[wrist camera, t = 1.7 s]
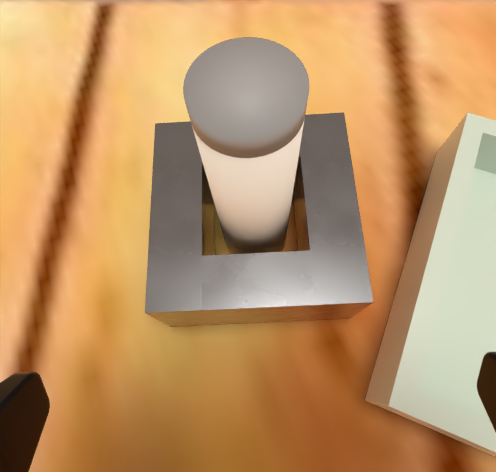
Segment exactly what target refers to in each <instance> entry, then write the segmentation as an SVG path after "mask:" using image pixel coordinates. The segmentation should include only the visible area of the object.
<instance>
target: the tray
mask: <svg viewBox="0 0 496 472" xmlns="http://www.w3.org/2000/svg"><path fill="white" fill-rule="evenodd" d="M488 352H496V121H495V120H492V119H488V118H485V117H481V116H478V115H474V114H471V113H467V114H466V115H465V117H464V118H463V119H462V121H461V122H460V123H459V125H458V126H457V127H456V128H455V130H454V131H453V132H452V134H451V135H450V136H449V137H448V139H447V140H446V141H445V143H444V144H443V145H442V147H441V148H440V149H439V150H438V152H437V153H436V157H435V160H434V164H433V167H432V170H431V174H430V177H429V181H428V184H427V188H426V191H425V195H424V198H423V201H422V205H421V208H420V212H419V215H418V219H417V222H416V225H415V229H414V232H413V236H412V239H411V243H410V246H409V250H408V253H407V256H406V260H405V263H404V267H403V270H402V274H401V277H400V280H399V284H398V287H397V291H396V294H395V298H394V301H393V305H392V308H391V311H390V315H389V318H388V322H387V325H386V329H385V332H384V336H383V339H382V342H381V346H380V349H379V353H378V356H377V360H376V363H375V366H374V370H373V373H372V377H371V380H370V384H369V387H368V391H367V394H366V397H365V401H368V402H370V403H372V404H374V405H377V406H379V407H381V408H384V409H386V410H388V411H391V412H393V413H395V414H398V415H400V416H402V417H404V418H407V419H409V420H411V421H414V422H416V423H418V424H421V425H423V426H425V427H427V428H430V429H432V430H434V431H437V432H439V433H441V434H444V435H446V436H448V437H451V438H453V439H455V440H457V441H460V442H462V443H464V444H467V445H469V446H471V447H474V448H476V449H478V450H480V451H483V452H485V453H487V454H490V455H492V456H494V457H496V432H495V430H494V428H493V426H492V423H491V421H490V419H489V417H488V415H487V412H486V410H485V408H484V406H483V404H482V401H481V399H480V397H479V394H478V391H477V379H478V376H479V372H480V368H481V364H482V360H483V357H484V355H485V354H486V353H488Z"/></svg>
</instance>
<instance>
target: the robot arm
mask: <svg viewBox="0 0 496 472" xmlns="http://www.w3.org/2000/svg"><path fill="white" fill-rule="evenodd" d="M477 391H478V394H479V397H480V399H481V401H482V404H483V406H484V408H485V410H486V412H487V415H488V417H489V419H490V421H491V423H492V426H493V428H494V430H495V432H496V352H488V353H486V354H485V355H484V357H483V360H482V364H481V368H480V372H479V376H478V379H477ZM49 408H50V403H49V398H48V395H47V393H46V390H45V387H44V385H43V382H42V379H41V377H40V375H39V374H38V373H37V372H18V373H15V374H13V375H11V376H10V377H8V378H7V379H5V380H4V381H2V382H1V383H0V472H28V471H29V468H30V466H31V463H32V460H33V457H34V454H35V451H36V448H37V445H38V442H39V439H40V436H41V434H42V431H43V428H44V425H45V422H46V419H47V416H48V413H49Z"/></svg>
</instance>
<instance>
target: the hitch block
mask: <svg viewBox="0 0 496 472" xmlns="http://www.w3.org/2000/svg"><path fill="white" fill-rule="evenodd" d="M292 200H293V201H294V212H295V223H296V234H297V246H298V251H288V252H268V253H248V254H228V255H215V246H214V200H213V197H212V193H211V190H210V187H209V183H208V180H207V176H206V173H205V169H204V166H203V162H202V159H201V155H200V152H199V148H198V145H197V141H196V138H195V134H194V131H193V127H192V124H191V122H175V123H157V124H155V139H154V157H153V176H152V194H151V213H150V231H149V249H148V268H147V286H146V305H145V313H146V314H148V315H150V316H152V317H154V318H156V319H158V320H159V321H161V322H163V323H165V324H167V325H169V326H171V327H175V326H197V325H219V324H241V323H262V322H284V321H306V320H328V319H349V318H351V317H352V316H354V315H355V314H357V313H358V312H360V311H361V310H363V309H364V308H365V307H367V306H368V305H370V304H371V303H373V296H372V290H371V283H370V277H369V270H368V264H367V258H366V251H365V245H364V238H363V232H362V225H361V219H360V213H359V206H358V200H357V193H356V187H355V180H354V174H353V168H352V161H351V155H350V148H349V142H348V135H347V129H346V123H345V116H344V113H329V114H312V115H305V119H304V125H303V131H302V138H301V144H300V151H299V157H298V163H297V170H296V176H295V182H294V189H293V195H292Z"/></svg>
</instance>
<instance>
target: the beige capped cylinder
mask: <svg viewBox="0 0 496 472" xmlns="http://www.w3.org/2000/svg"><path fill="white" fill-rule="evenodd" d="M183 93H184V99H185V103H186V107H187V110H188V113H189V117H190V120H191V124H192V127H193V131H194V134H195V138H196V141H197V145H198V148H199V152H200V155H201V159H202V162H203V166H204V169H205V173H206V176H207V180H208V183H209V187H210V190H211V193H212V197H213V200H214V204H215V207H216V211H217V214H218V218H219V221H220V225H221V228H222V232H223V235H224V239H225V242H226V246H227V249H228V251H229V253H230V254H248V253H268V252H282V251H283V249H284V246H285V239H286V233H287V227H288V220H289V214H290V208H291V201H292V195H293V189H294V182H295V176H296V170H297V163H298V157H299V151H300V144H301V138H302V131H303V125H304V119H305V112H306V106H307V100H308V93H309V79H308V74H307V71H306V69H305V67H304V65H303V63H302V62H301V61H300V59H299V58H298V57H297V56H296V55H295V54H294V53H293V52H292V51H290V50H289V49H288V48H286V47H284V46H283V45H281V44H278V43H276V42H274V41H270V40H267V39H262V38H254V37H243V38H235V39H230V40H226V41H223V42H221V43H218V44H216V45H214V46H212V47H210V48H208V49H207V50H206V51H204V52H203V53H202V54H201V55H199V56H198V57H197V58H196V60H195V61H194V62H193V63H192V65H191V66H190V68H189V69H188V72H187V74H186V77H185V80H184V86H183Z"/></svg>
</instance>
